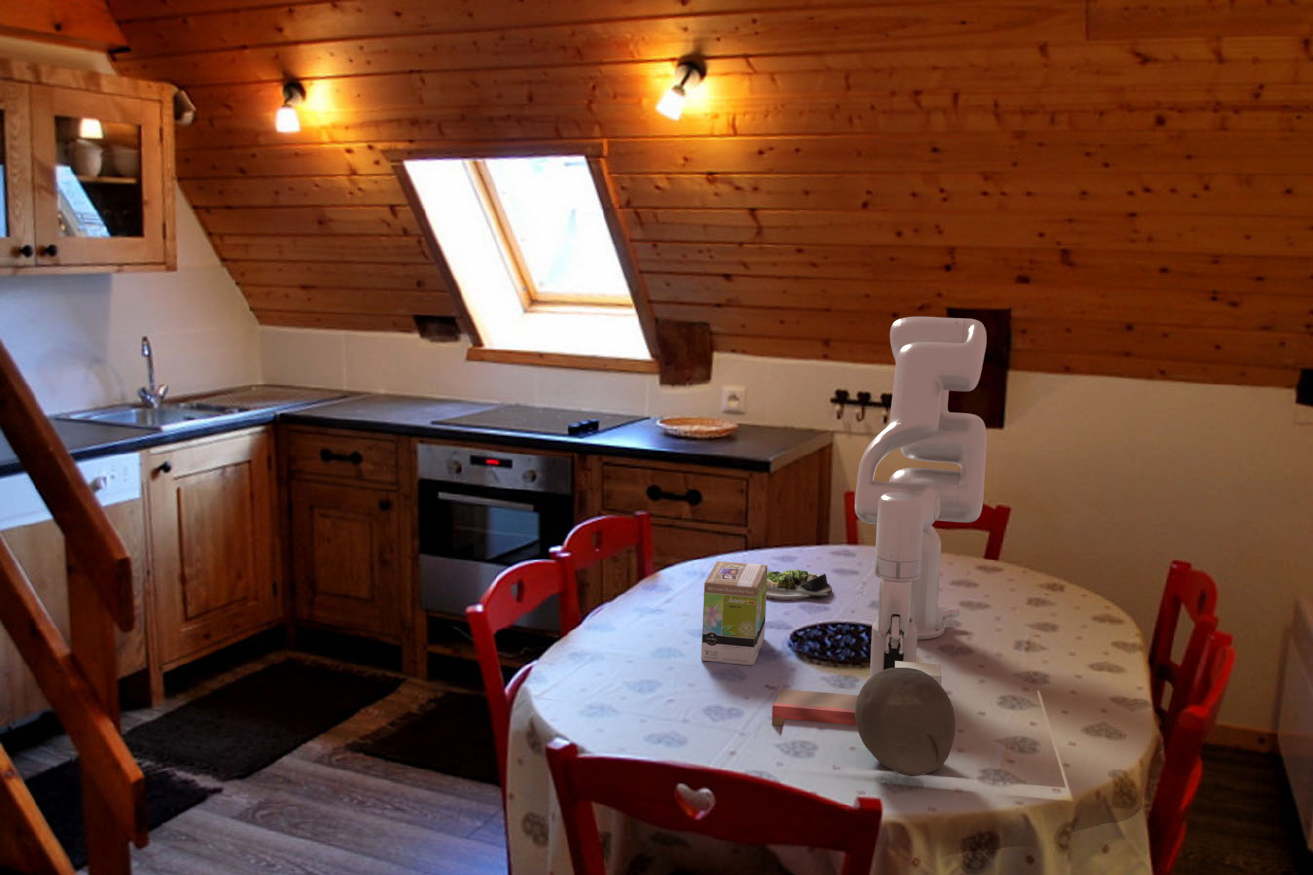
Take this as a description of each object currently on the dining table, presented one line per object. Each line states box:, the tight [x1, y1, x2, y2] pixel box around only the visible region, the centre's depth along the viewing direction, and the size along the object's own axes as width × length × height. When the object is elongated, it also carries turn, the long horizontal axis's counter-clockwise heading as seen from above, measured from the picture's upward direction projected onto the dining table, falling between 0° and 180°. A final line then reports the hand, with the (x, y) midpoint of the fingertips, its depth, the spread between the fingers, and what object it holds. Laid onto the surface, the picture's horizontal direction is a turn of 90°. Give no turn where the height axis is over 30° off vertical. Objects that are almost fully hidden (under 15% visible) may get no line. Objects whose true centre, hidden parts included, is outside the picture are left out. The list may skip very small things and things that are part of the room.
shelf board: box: [771, 688, 859, 727], centre depth 194 cm, size 26×12×3 cm, turn 79°
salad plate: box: [766, 569, 833, 601], centre depth 259 cm, size 19×18×5 cm
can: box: [869, 615, 918, 679], centre depth 206 cm, size 8×8×12 cm
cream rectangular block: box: [895, 661, 943, 686], centre depth 191 cm, size 7×5×8 cm
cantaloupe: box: [855, 667, 956, 777], centre depth 174 cm, size 14×14×15 cm
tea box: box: [700, 560, 768, 666], centre depth 222 cm, size 15×10×15 cm, turn 168°
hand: (892, 665), depth 207 cm, fingers open, 8 cm apart
